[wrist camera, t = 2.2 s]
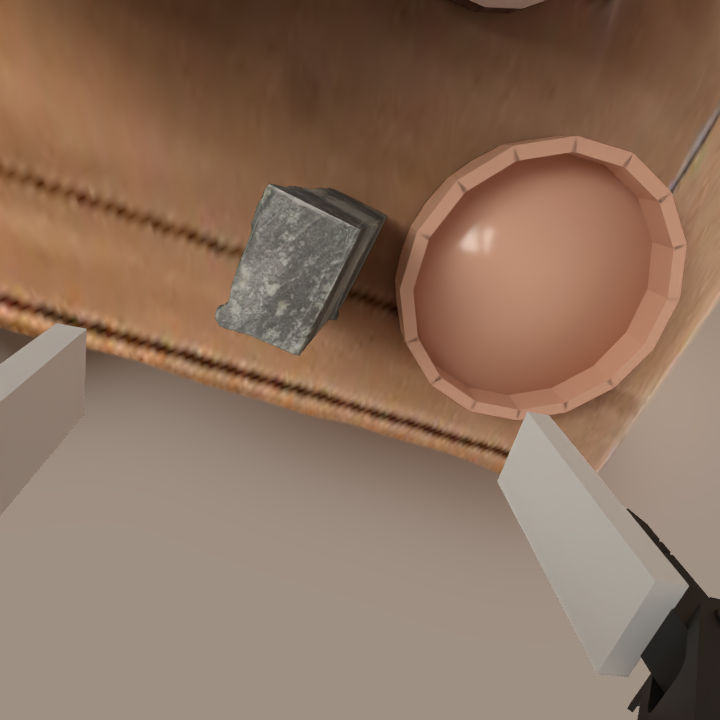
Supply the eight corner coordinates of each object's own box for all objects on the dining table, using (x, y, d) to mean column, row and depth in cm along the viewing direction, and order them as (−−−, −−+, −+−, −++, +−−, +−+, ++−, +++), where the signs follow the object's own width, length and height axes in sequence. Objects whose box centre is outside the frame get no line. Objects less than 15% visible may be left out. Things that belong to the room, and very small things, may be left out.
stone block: (286, 290, 41) (342, 321, 41) (202, 333, 27) (287, 379, 27) (333, 186, 38) (394, 219, 38) (266, 177, 24) (361, 228, 24)
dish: (365, 373, 44) (369, 391, 41) (444, 101, 36) (456, 98, 33) (588, 417, 48) (607, 438, 45) (705, 181, 40) (739, 185, 37)
